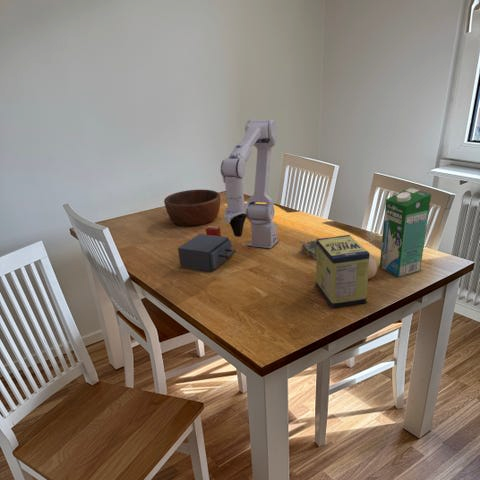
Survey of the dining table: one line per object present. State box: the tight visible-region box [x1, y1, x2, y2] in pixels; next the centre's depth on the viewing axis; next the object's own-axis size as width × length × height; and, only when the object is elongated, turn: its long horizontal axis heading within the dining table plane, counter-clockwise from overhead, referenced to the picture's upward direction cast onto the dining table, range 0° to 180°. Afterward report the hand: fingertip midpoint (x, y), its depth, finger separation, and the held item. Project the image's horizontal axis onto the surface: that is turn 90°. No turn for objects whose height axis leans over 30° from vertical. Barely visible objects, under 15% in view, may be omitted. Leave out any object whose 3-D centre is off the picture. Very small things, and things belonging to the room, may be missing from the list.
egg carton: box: [299, 239, 317, 260], centre depth 163 cm, size 11×8×4 cm
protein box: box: [315, 234, 371, 309], centre depth 133 cm, size 10×16×16 cm
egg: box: [368, 254, 378, 280], centre depth 142 cm, size 6×6×8 cm
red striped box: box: [205, 225, 222, 236], centre depth 176 cm, size 5×3×8 cm, turn 63°
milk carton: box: [379, 187, 432, 278], centre depth 142 cm, size 9×9×25 cm
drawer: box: [209, 239, 237, 270], centre depth 161 cm, size 15×13×6 cm
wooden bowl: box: [163, 189, 221, 227], centre depth 205 cm, size 25×25×10 cm
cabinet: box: [177, 233, 230, 273], centre depth 163 cm, size 12×14×7 cm
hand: (238, 235), depth 156 cm, fingers closed
